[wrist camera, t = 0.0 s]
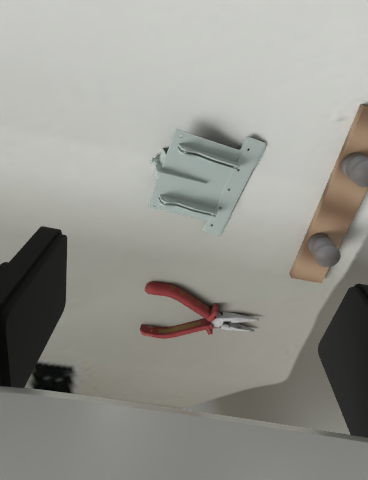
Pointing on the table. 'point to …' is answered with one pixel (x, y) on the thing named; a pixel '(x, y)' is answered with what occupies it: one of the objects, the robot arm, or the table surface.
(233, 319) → the pliers
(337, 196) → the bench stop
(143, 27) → the table surface
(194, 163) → the metal bracket
